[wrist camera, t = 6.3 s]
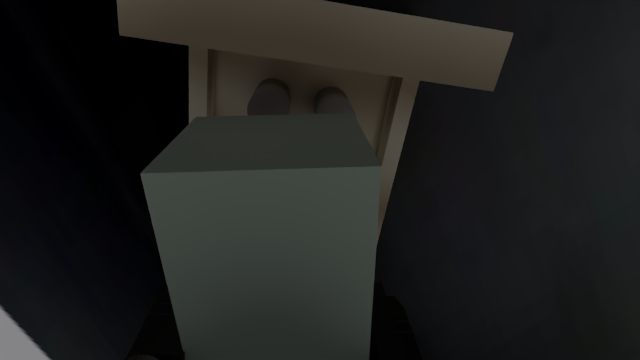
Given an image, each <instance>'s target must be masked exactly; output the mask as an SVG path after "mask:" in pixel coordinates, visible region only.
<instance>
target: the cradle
mask: <svg viewBox="0 0 640 360" xmlns="http://www.w3.org/2000/svg"><path fill="white" fill-rule="evenodd" d="M117 10H118V23H119V35H122V36H129V37H135V38H142V39H149V40H155V41H162V42H169V43H175V44H182V45H188V46H189V124H190V123H191V121H192V120H193V119H194V118H195V117H208V116H249V115H289V114H330V113H354V115H355V117H356V119H357V121H358V123H359V125H360V127H361V128H362V130H363V132H364V134H365V136H366V138H367V140H368V142H369V144H370V145H371V147H372V149H373V151H374V153H375V155H376V157H377V159H378V161H379V162H380V164H381V181H380V197H379V212H378V227H377V242H378V238H379V234H380V230H381V226H382V223H383V219H384V215H385V211H386V207H387V203H388V200H389V196H390V192H391V188H392V184H393V181H394V177H395V173H396V169H397V165H398V161H399V158H400V154H401V150H402V146H403V142H404V139H405V135H406V131H407V127H408V123H409V119H410V116H411V112H412V108H413V104H414V100H415V96H416V93H417V89H418V85H419V81H420V80H421V81H427V82H434V83H441V84H447V85H454V86H460V87H467V88H474V89H480V90H487V91H494V88H495V85H496V82H497V80H498V77H499V74H500V71H501V68H502V65H503V62H504V60H505V57H506V54H507V51H508V48H509V45H510V42H511V40H512V37H513V34H514V33H511V32H506V31H500V30H494V29H488V28H482V27H476V26H470V25H464V24H459V23H453V22H447V21H441V20H435V19H429V18H423V17H418V16H412V15H406V14H400V13H394V12H388V11H382V10H376V9H371V8H365V7H359V6H353V5H347V4H341V3H335V2H329V1H324V0H117ZM376 246H377V243H376Z"/></svg>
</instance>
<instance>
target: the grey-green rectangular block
mask: <svg viewBox="0 0 640 360" xmlns="http://www.w3.org/2000/svg"><path fill="white" fill-rule="evenodd" d="M140 174H141V179H142V183H143V187H144V191H145V195H146V199H147V203H148V208H149V212H150V216H151V220H152V224H153V228H154V232H155V237H156V241H157V245H158V249H159V253H160V257H161V261H162V266H163V270H164V274H165V278H166V282H167V286H168V290H169V295H170V299H171V303H172V307H173V311H174V315H175V320H176V324H177V328H178V332H179V336H180V340H181V344H182V349H183V351H185V360H369V351H370V336H371V320H372V305H373V289H374V274H375V258H376V243H377V227H378V212H379V197H380V181H381V164H380V162H379V161H378V159H377V157H376V155H375V153H374V151H373V149H372V147H371V145H370V144H369V142H368V140H367V138H366V136H365V134H364V132H363V130H362V128H361V127H360V125H359V123H358V121H357V119H356V117H355V115H354V113H330V114H289V115H249V116H208V117H195V118H194V119H193V120H192V121H191V123H190V124H189V125H188V126H187V127H186V128H185V129H184V130H183V131H182V132H181V133H180V134H179V135H178V136H177V137H176V138H175V139H174V140H173V141H172V142H171V143H170V144H169V145H168V146H167V147H166V148H165V149H164V150H163V151H162V152H161V153H160V154H159V155H158V156H157V157H156V158H155V159H154V160H153V161H152V162H151V163H150V164H149V165H148V166H147V167H146V168H145V169H144V170H143V171H142V172H141V173H140Z"/></svg>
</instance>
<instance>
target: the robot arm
mask: <svg viewBox="0 0 640 360" xmlns="http://www.w3.org/2000/svg"><path fill="white" fill-rule="evenodd" d="M408 321H409V320H408V318H407V315H406V312H405V309H404V307H403V306H402V305H401V304H400V302H399V301H398V300H397V299H396V298H395V297H394V296H386V295H385V292H384V289H383V286H382V283H381V281H380V280H374V289H373V305H372V320H371V336H370V351H369V360H422V357H421V354H420V351H419V349H418V346H417V343H416V340H415V337H414V335H413V334H412V329H411V326H410V323H408ZM123 360H185V351H183V349H182V344H181V340H180V336H179V332H178V328H177V324H176V320H175V315H174V311H173V307H172V303H171V299H170V295H169V290H168V286H167V284H166V285H165V286H164V287H162V288H161V290H160V292H159V294H158V296H157V298H156V300H155V303H154V304H153V306H152V308H151V310H150V314H148V316H147V318H146V320H145V322H144V324H143V326H142V328H141V330H140V332H139V334H138V336H137V338H136V340H135V342H134V344H133V346H132V348H131V350H130V352H129V354H128V356H127V358H125V359H123Z"/></svg>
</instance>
